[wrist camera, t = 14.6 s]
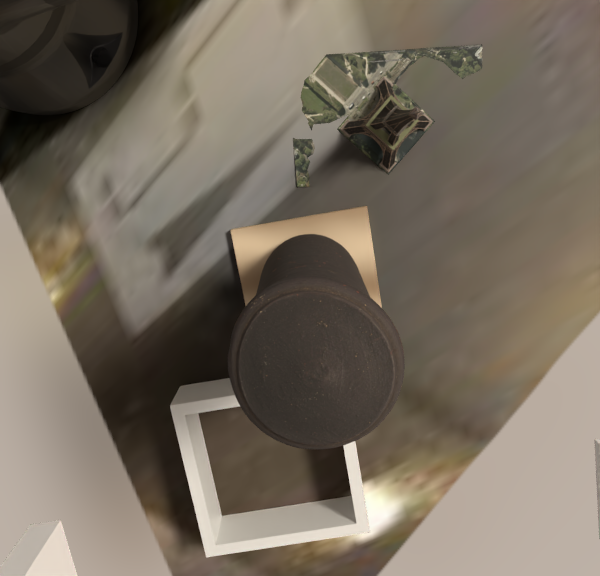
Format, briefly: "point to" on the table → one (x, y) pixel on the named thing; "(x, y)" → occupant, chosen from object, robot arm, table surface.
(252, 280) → the cork mat
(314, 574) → the table surface
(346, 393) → the container
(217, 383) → the frame
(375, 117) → the eiffel tower figurine
